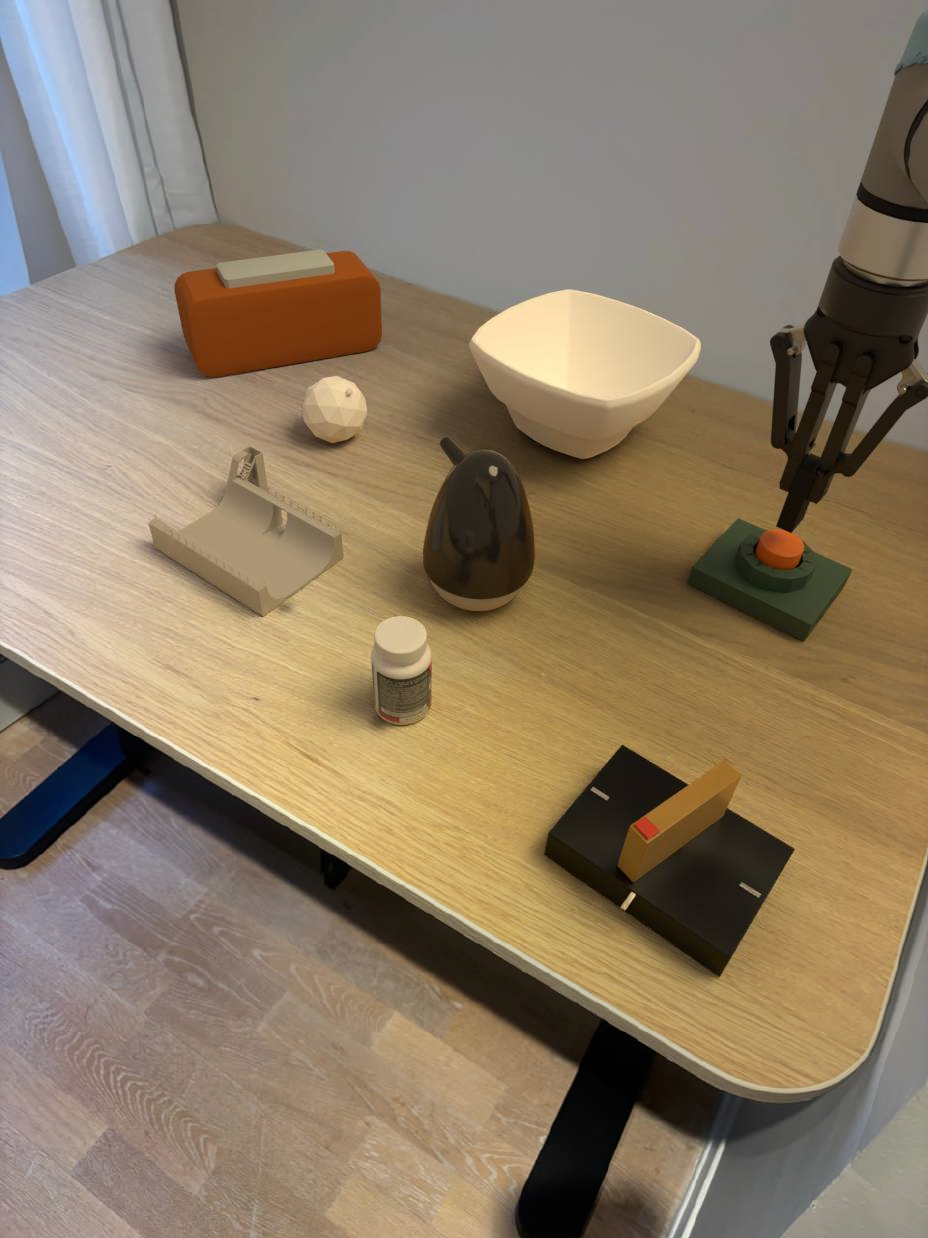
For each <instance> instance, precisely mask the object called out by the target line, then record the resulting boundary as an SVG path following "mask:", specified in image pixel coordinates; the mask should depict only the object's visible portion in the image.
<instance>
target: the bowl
mask: <svg viewBox="0 0 928 1238" xmlns="http://www.w3.org/2000/svg"><path fill="white" fill-rule="evenodd" d="M468 349H469V350H470V353H471V355H472V357H473V358H474V361H475V363H476V365H477V367H478V369H479V371H480V373H481V375H482V377H483V379H484V381H485V383H486V385H487V387H488V390H489V391H490V393H491V394H492V395H493V396H495V398H496V399H497V400H498V401H500V402H501V403H502V404H504V405H505V406H506V408H507V411H508V413H509V415H510V418H511V420H512V422H513V424H514V426H515V427H516V428H517V429H518V430H519V431H521V432H522V433H523V434H525V435H526V436H528V437H529V438H530V439H531V440H533V441H535V442H536V443H538V444H540V445H542V446H544V447H546V448H549V449H551V450H553V451H556V452H559V453H562V454H564V455H566V456H570V457H573V458H577V459H580V460H581V459H582V460H585V459H590V458H593V457H596V456H598V455H600V454H603V453H605V452H607V451H609V450H611V449H612V448H614V447H616V446H617V445H619V444H620V443H621V442H622V441H623V440H624V439H625V438H626V437H627V436H628V434H629V433H630V432H631V431H632V429H633V428H634V427H636V426H637V425H639V424H641V423H642V422H644V421H646V420H647V419H649V417H650V416H652V415H653V414H654V413H655V412H656V411H658V410H659V408H660V407H661V406H662V404H663V403H664V402H665V401H666V400H667V398H668V397H669V396H670V395H671V394H672V393H673V391H674V390H675V389H676V387H678V385H679V384H680V382H681V381H683V379H684V378H685V377H686V376H687V374H688V373H689V372H690V370H691V369H692V368H693V367H694V366H695V365H696V363H697V362H698V360H699V357H700V353H701V350H702V343H701V341H700V339H699V338H698V337H697V336H695V335H693V334H692V333H690V331H688V330H687V329H685V328H684V327H681V326H679V325H677V324H676V323H673V322H672V321H670V320H668V319H665V318H664V317H662V316H658V315H657V314H655V313H652V312H650V311H647V310H645V309H643V308H640V307H638V306H635V305H632V304H628V303H626V302H623V301H620V300H616V299H613V298H610V297H607V296H603V295H599V294H596V293H593V292H588V291H581V290H577V289H571V288H569V289H568V288H567V289H562V290H557V291H552V292H548V293H543V294H541V295H538V296H535V297H532V298H529V299H527V300H524V301H522V302H520V303H518V304H515V305H513V306H510V307H508V308H507V309H505V310H503V311H502V312H500V313H498V314H496V315H494V316H493V317H492V318H490V319H489V320H487V322H485V323H483V324H482V325H481V326H479V327H478V329H477V330H476V332H475V333H474V335H473V336H472V337H471V338H470V340H469V344H468Z"/></svg>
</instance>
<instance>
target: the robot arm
mask: <svg viewBox="0 0 928 1238" xmlns="http://www.w3.org/2000/svg"><path fill="white" fill-rule="evenodd" d="M893 73H894V74H893V75H894V79H893V82H892V84H891V88H890V91H889V94H888V95H887V100H886V103H885V106H884V108H883V112H882V115H881V118H880V121H879V124H878V127H877V130H876V132H875V133H876V134H875V135H874V139H873V142H872V145H871V148H870V151H869V155H868V157H867V160H866V163H865V166H864V169H863V172H862V175H861V178H860V182H859V184H858V188H857V191H856V193H855V196H854V199H853V202H852V205H851V208H850V210H849V213H848V216H847V219H846V222H845V225H844V228H843V230H842V234H841V237H840V239H839V242H838V245H837V252H838V254H839V256H837V257H835V259H833V261H832V263H831V267H830V269H829V272H828V275H827V278H826V280H825V283H824V287H823V288H822V289H823V290H822V292H821V296H820V299H819V301H818V304H817V308H816V310H815V311H814V312H813V314H812V315H811V316H809V318H807V320H806V321H805V323H804V324H801V325H798V326H797V325H796V326H794V325H793V324H787V325H784V326H783V327H782V328H781V329H779V330H778V332H776V333H775V334H773V336H772V337H770V340H769V346H770V350H771V353H772V357H773V359H774V363H775V368H774V369H775V370H774V371H775V372H774V384H773V385H774V386H773V399H772V412H771V413H772V415H771V432H770V445H771V446H772V447H773V449H776V450H781V451H783V452H784V453H785V455H786V458H787V461H786V463H785V465H784V469H783V472H782V475H781V478H780V480H779V482H778V483H779V489H780V490H782V491H784V492H787V496H786V497H785V501H784V503H783V506H782V509H781V511H780V514H779V517H778V519H777V522H776V525H775V527H776V528H777V529H780V530H785V531H787V532H790V533H793V532H794V531H795V530H796V529H797V527H798V526H799V525H800V523H801V522H802V521H803V520H804V518H805V516H806V514H807V511H808V508H809V506H810V503H813V504H816V505H817V504H818V503H819V502H821V501H822V499H823V498H824V497H825V496H826V495H827V494H828V491H829V488H830V486H831V484H832V482H833V479H834V476H835V474H839V475H840V474H841V475H842V476H843V477H845V478H851V477H853V476H854V475H855V474H856V473H857V471H858V470H859V469H860V468H861V467H862V466H863V464H865V462H866V461H867V460H868V458H869V457H870V456H871V455H872V454H873V452H874V451H875V450H876V448H877V447H878V446H879V445H880V443H881V442H882V441H883V440H884V438H885V437H886V436H887V435H888V434H889V433H890V431H891V430H892V429H893V427H894V426H895V425H896V424H897V423H898V422H899V419H901V417H902V416H903V415H904V413H906V411H908V410H910V409H911V408H913V407H914V406H916V405H918V404H919V403H921V402H923V401H924V400H926V399H927V398H928V372H927V371H926V370H925V368H924V367H923V366H922V365H921V363H920V362H919V361H918V360H917V358H918V356H919V352H920V347H919V337H920V333H921V330H922V329H923V326H924V324H925V321H926V320H927V317H928V7H927V8H926V9H925V10H923V11H922V12H921V13H920V15H919V16H918V17H917V19H916V20H915V24H914V26H913V29H912V31H911V33H910V36H909V38H908V40H907V44H906V46H905V49H904V50H903V53H902V56H901V58H900V61H899V62H898V63H897V64H896V66H895V67H894V71H893ZM806 345H807V349H808V351H809V355H810V359H811V361H812V364H813V367H814V369H815V371H816V373H815V375H814V378H813V381H812V384H811V386H810V393H809V395H808V399H807V402H806V404H805V406H804V410H803V413H802V415H801V417H800V420H799V423H797V422H798V412H799V399H800V385H801V377H802V376H801V374H802V362H803V353H802V352H803V351H804V350H805V349H806ZM900 373H901V374H902V378H901V379H900V381H899V382H898V383H897V385H896V390H897V393H898V395H897V396H896V397H895V398H894V399H893V401H892V402H891V403H890V404H889V405H888V406H887V407H886V409H885V410H884V411H883V413H882V414H881V415H880V416H879V417H878V419H877V420H876V422H874V424H873V425H872V427H871V428H870V429H869V430H868V432H867V433H866V434H865V435H864V436H863V438H862V440H861V441H859V443H858V445H857V446H856V447H855V448H854V449H853V451H852V452H851V453H850V452H849V453H848V452H846V450H847V447H848V445H849V443H850V440H851V438H852V435H853V433H854V431H855V428H856V425H857V423H858V420H859V418H860V415H861V414H862V411H863V408H864V406H865V403H866V401H867V398H868V396H869V394H870V392H871V391H872V390H873V389H875V388H876V387H878V386H880V385H881V384H883V383H885V382H886V381H887V382H888V380H891V379H892V378H894V377H895V376H897V375H898V374H900ZM838 384H839V385H841V386H843V387H845V389H844V390H845V391H844V393H843V395H842V398H841V403H840V406H839V409H838V412H837V415H836V417H835V419H834V422H833V425H832V427H831V430H830V432H829V435H828V436H827V437H828V438H827V440H826V442H825V445H824V448H823V450H822V453H821V456H819V455H816V454H813V453H812V452H811V451H812V450H813V449H814V448H815V446H816V444H817V443H816V440H817V438H818V435H819V433H820V430H821V428H822V424H823V423H824V419H825V416H826V414H827V411H828V409H829V406H830V403H831V402H832V399H833V395H834V394H835V391H836V389H837V385H838ZM797 424H798V425H797ZM797 426H798V427H797Z"/></svg>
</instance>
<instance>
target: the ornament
mask: <svg viewBox="0 0 928 1238" xmlns="http://www.w3.org/2000/svg"><path fill="white" fill-rule="evenodd" d="M301 408H302V409H301V410H302V417H303V422H304V423H305V425H306V426H307V427H308V429H309V430H310V431H311V433H312V434H313V436H314V437H316V438H319V439H320V440H324V441H326V442H329V443H331V444H335V443H340V442H344V441H347V440H349V439H351V438H352V437H354V436H355V435H356V434H358V433H360V432H361V431H362V430H363V427H364V424H365V421H366V418H367V415H368V406H367V401H366V397H365V396H364V394H363V392H361V390H360V389H359V387H358V386H357V385H356V384H355V382H354V381H350V380H348V379H345V378H344V377H341V376H340V375H333V376H326V377H323V378H321V379H320V380H318V381H316V382H315V383H313V384H312V385H310V386H309V387H308V388H307V389H306V393H305V395H304V400H303V402H302V406H301Z"/></svg>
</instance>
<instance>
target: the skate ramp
mask: <svg viewBox="0 0 928 1238" xmlns="http://www.w3.org/2000/svg"><path fill="white" fill-rule="evenodd" d="M242 460H243V463H244V464H242V467H241V468H240V470H239V467H240V463H241V462H242ZM238 471H239V472H238ZM227 477H228V478H227V483H226V487H225V492H224V495H223V498H222V500H221V501H220V503H218V505H217V506H216V507H214V509H212V510H211V511H209V512H208V513H206V514H204V515H202V516H201V517H199V518H197V519H196V520H194V521H192V522H191V523H189V524H188V525H186V526H184V527H183V528H181V529H179V530H177V529H176V528H174V527H172V526H171V525H169V524H167V523H166V522H164V521H162V520H161V519H159V518H157V514H156V513H155V514H153V515H152V518H148V519H149V521H148V522H147V524H148V528H149V531H150V535H151V539H152V542H153V546H154V548H155V549H156V550H157V551H159V552H161V553H162V554H164V555H165V556H167V557H168V558H170V559H172V560H173V561H174V562H176V563H177V564H180V565H181V566H182V567H184V568H186V569H188V570H189V571H190V572H191V573H193V574H195V575H197V576H198V577H200V578H201V579H203V580H204V581H206V582H208V583H209V584H210V585H212V586H214V587H215V588H217V589H219V590H220V591H222V592H223V593H225V594H226V595H228V596H230V597H232V598H233V599H235V600H236V601H238V602H239V603H241V604H242V605H244V606H246V607H247V608H248V609H250V610H252V611H253V612H254V613H257V614H258V615H259V616H261V617H264V616H266V615H267V614H269V613H270V612H271V611H273V610H274V609H276V608H277V607H279V606H280V605H281V604H283V603H284V602H285V601H287V600H288V599H289V598H290V597H292V596H293V595H295V594H296V593H298V592H299V591H300V590H301V589H303V588H305V587H306V586H307V585H309V584H310V583H311V582H313V581H314V580H315V579H316V578H318V577H320V575H322V574H323V573H325V572H326V571H328V570H329V569H330V568H332V567H333V566H334V565H336V564H337V563H338V562H340V561H341V560H343V559H344V548H343V536H342V534H343V533H342V528H341V527H339V528H338V529H336V526H337V524H336V523H334V522H333V521H330V520H329V521H328V519H327V518H325V517H323V516H321V515H320V514H319V513H316V512H314V511H312V510H311V509H309V508H307V507H305V506H303V505H302V504H299V503H298V502H296V501H294V502H293V501H292V499H291V498H289V497H287V496H285V495H283V494H282V493H280V492H278V491H275V492H274V491H271V490H272V488H271V487H269V486H268V480H267V474H266V466H265V459H264V452H262V451H261V450H259V449H257V448H255V447H253V446H251V445H248V446H247V447H245V448H243V449H241V450H239V451H237V452H235V454H234V455H233V456H232V458H231V463H230V467H229V473H228V476H227ZM278 494H279V495H278ZM280 495H281V496H280ZM281 498H282V499H281ZM283 498H284V499H283ZM285 498H286V499H285ZM296 506H297V507H296ZM298 507H300V508H298ZM301 509H302V510H301ZM282 511H284V512H285V513H286V524H285V523H284V521H283V513H282ZM309 512H312V513H311V515H310V514H309ZM322 518H323V519H322ZM324 519H325V520H324ZM323 521H324V522H323ZM325 522H326V523H327V524H326V523H325ZM331 523H332V524H334V525H332V524H331Z"/></svg>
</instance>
